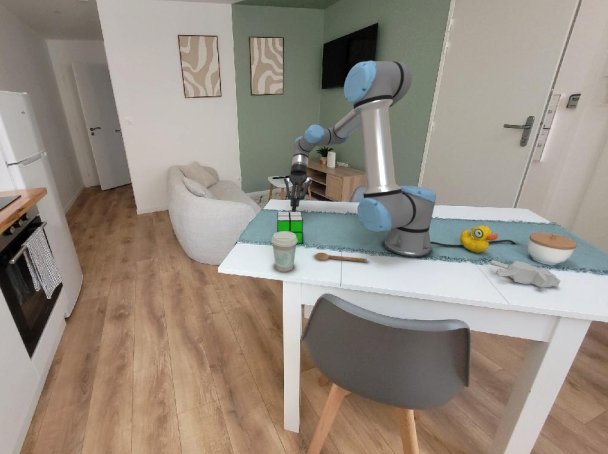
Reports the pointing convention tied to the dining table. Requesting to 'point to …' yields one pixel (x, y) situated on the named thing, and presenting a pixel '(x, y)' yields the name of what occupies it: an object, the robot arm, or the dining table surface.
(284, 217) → the puzzle cube
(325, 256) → the wooden spoon
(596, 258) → the dining table surface
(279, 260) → the coffee cup
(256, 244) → the dining table surface
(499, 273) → the bunny figurine
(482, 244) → the duckling
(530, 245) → the trinket box
